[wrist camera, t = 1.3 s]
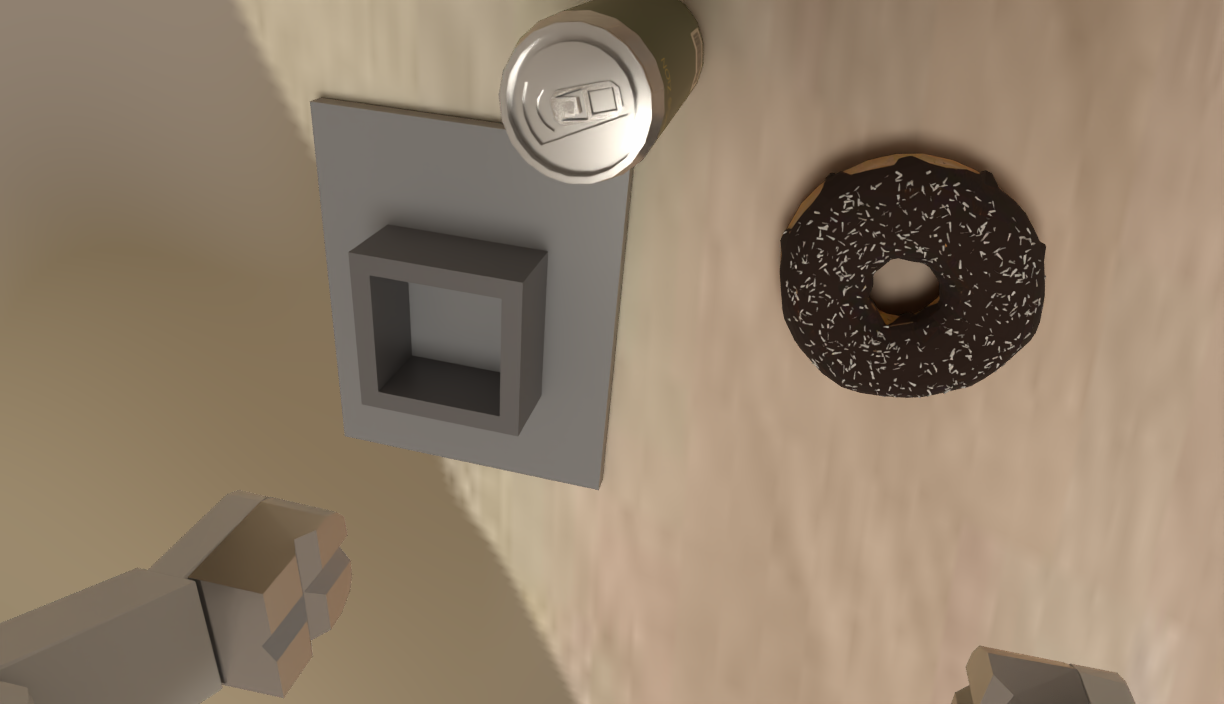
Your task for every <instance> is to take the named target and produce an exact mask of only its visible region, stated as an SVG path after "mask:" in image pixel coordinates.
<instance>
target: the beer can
mask: <svg viewBox="0 0 1224 704" xmlns="http://www.w3.org/2000/svg"><path fill="white" fill-rule="evenodd" d="M702 66H703V39H702V36H701V33H700V30H699V26H698V23H697V21H696V20H695V18H694V17H693V15H692V14H691V12H690V11H689V9H688V8H687V7H686V5H685V4H684V3H682V2H681V1H680V0H593V1H590V2H587V3H584V4H581V5H579V6H576V7H573V8H570V9H567V10H564V11H562V12H559V13H557V14H555V15H552V16H550V17H547V18H545V19H543V20H540V21H538V22H537V23H536V24H535V25H534V26H533V27H532V28H531V29H530V30H529V31H528V32H527V33H525V34H524V35H523V36H522V37H521V38H520V39H519V41H518V43H517V45H516V47H515V49H514V51H513V52H512V54H511V56H510V58H509V60H508V62H507V64H506V66H505V68H504V70H503V74H502V80H501V85H500V91H499V101H500V110H501V118H502V122H503V124H504V127H505V129H506V131H507V134H508V136H509V139H510V141H511V143H512V144H513V146H514V147H515V148H516V150H517V151H518V152H519V153H520V155H521V156H522V157H523V158H524V160H525V161H526V162H527V163H528V164H530V165H531V166H533V167H534V168H535V169H537V170H538V171H540V172H541V173H542V174H544V175H545V176H547V177H550V178H553V179H556V180H559V181H562V182H565V183H568V184H593V183H596V182H602V181H605V180H608V179H611V178H614V177H617V176H620V175H623V174H624V173H626V172H627V171H628V170H630V169H631V168H632V167H634V166H635V165H636V164H638V163H639V162H640V161H642V160H643V159H644V157H645V156H646V155H647V153H648V152H649V150H650V149H651V148H652V146H653V145H654V143H655V142H656V141H657V139H658V138H659V136H660V135H661V134H662V132H663V131H664V129H665V128H666V127H667V125H668V124H669V122H670V121H671V120H672V118H673V117H674V115H675V114H676V113H677V111H678V110H679V108H680V107H681V106H682V104H683V103H684V101H685V100H686V99H687V97H688V96H689V94H690V93H691V91H692V90H693V88H694V87H695V86H696V84H697V82H698V79H699V76H700V73H701V69H702Z"/></svg>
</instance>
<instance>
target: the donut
mask: <svg viewBox="0 0 1224 704" xmlns="http://www.w3.org/2000/svg"><path fill="white" fill-rule="evenodd" d="M780 241H781V264H780V282H781V296H782V310H783V314H784V319H785V321H786V323H787V325H788V328H789V330H790V332H791V334H792V336H793V338H794V340H795V341H796V343H797V344H798V346H799V347H800V349H801V350H802V351H803V352H804V353H805V354H806V356H807V357H808V358H809V359H810V360H811V361H812V362H813V363H812V364H814V365H815V366H816V367H817V368H818V369H819V370H820V371H821V372H822V373H823V374H824V375H825V376H827V377H828V378H830V379H831V380H833V381H834V382H835V383H837V384H838V385H840V386H841V387H844V388H847V389H850V390H853V391H856V392H859V393H865V394H872V395H879V396H884V397H886V396H889V397H896V398H897V397H905V398H910V397H919V398H921V397H924V396H930V395H935V394H939V393H944V394H945V393H947V392H949V391H952V390H957V389H961V388H966V387H969V386H972V385H974V384H975V383H977V382H979V381H981V380H982V379H984V378H986V377H987V376H989V375H990V374H992V373H993V372H996V371H997V369H999V368H1000V367H1001V366H1003V365H1004V364H1005V363H1006V362H1007V361H1008V360H1010V359H1011V358H1012V357H1013V356H1014V355H1015V354H1016V353H1017V352H1018V351H1019V350H1020V349H1022V348H1023V347H1024V346H1025V345H1026V344H1027V343H1028V342H1029V341H1030V340H1031V339H1032V337H1033V336H1034V334H1035V333H1036V330H1037V328H1038V325H1039V323H1040V318H1041V313H1042V309H1043V306H1044V305H1043V302H1044V297H1045V277H1046V276H1045V275H1044V257H1045V250H1046V246H1045V244H1043V243H1041V242H1040V241H1039V239H1038V237H1037V235H1036V232H1035V230H1034V228H1033V226H1032V225H1031V223H1030V221H1029V219H1028V217H1027V215H1026V213H1025V212H1024V211H1023V210H1022V209H1021V208H1020V206H1019V205H1018V204H1017V203H1016V202H1015V201H1014V200H1013V199H1011V198H1010V197H1009V196H1008V195H1006V194H1005V193H1004V192H1003V191H1002V190H1001V188H1000V187H999V186H998V184H997V183H996V181H995V179H994V177H993V175H992V173H990V172H988V171H986V170H985V171H982V172H981V173H979V172H978V171H976V170H974V169H972V168H969V167H967V166H965V165H963V164H960V163H958V162H956V161H954V160H950V159H946V158H941V157H937V156H932V155H928V154H893V155H889V156H884V157H880V158H876V159H871V160H867V161H865V162H863V163H861V164H858V165H856V166H854V167H852V168H850V169H848V170H845V171H843V172H839V173H837V174H835V173H830V174H829V176H828V177H827V178H826V180H825V181H824V182H823V183H822V184H821V185H819V186H818V187H817V188H816V189H815V190H814V191H813V192H812V193H811V194H810V195H809V196H808V197H807V198H806V199H805V200H804V201H803V202H802V203H801V205H800V207H799V208H798V210H797V212H796V214H795V215H794V217H793V219H792V221H791V223H790V224H789V226H788V228H787V229H786V230H785V232H784V233H783V236H782V238H781V240H780ZM896 258H900V259H904V260H908V261H913V262H920V263H924V264H925V265H927V266H928V267H930V268H931V270H932V271H933V273H934V274H935V275H936V277H937V279H938V281H939V296H938V298H937V299H935V300H934V301H933V302H932V303H930V304H929V305H928V306H927V307H925V308H923V309H922V310H921V311H919V312H917V313H915V314H912V313H909V312H908V313H905V314H902V315H900V316H897V315H891V314H886V313H884V312H882V311H880V310H878V309H877V307H876V305H875V303H874V302H873V301H872V300H871V299H870V298H869V296H870V293H871V290H872V287H873V274H874V273H875V272H876V271H877V270H879V269H880V268H881V267H882V266H884V265H885V264H886V263H887V262H889V261H890V260H891V259H896Z"/></svg>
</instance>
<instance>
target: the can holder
mask: <svg viewBox="0 0 1224 704" xmlns="http://www.w3.org/2000/svg"><path fill="white" fill-rule="evenodd" d="M310 106H311V115H312V125H313V135H314V144H315V154H316V163H317V173H318V182H319V192H320V202H321V211H322V221H323V230H324V239H325V249H326V258H327V269H328V279H329V288H330V298H331V307H332V317H333V327H334V336H335V346H336V355H337V365H338V375H339V384H340V394H341V403H342V413H343V422H344V431H345V436H347V437H352V438H356V439H361V440H366V441H370V442H376V443H380V444H385V445H390V446H394V447H399V448H404V449H408V450H413V451H417V452H422V453H427V454H432V455H436V456H441V457H446V458H450V459H455V460H460V461H464V462H469V463H474V464H479V465H483V466H488V467H493V468H497V469H502V470H507V471H511V472H516V473H521V474H525V475H530V476H535V477H540V478H544V479H549V480H554V481H558V482H563V483H568V484H572V485H577V486H582V487H587V488H591V489H596V490H599V488H600V485H601V483H602V480H603V471H604V461H605V450H606V440H607V430H608V420H609V410H610V400H611V390H612V380H613V370H614V360H615V350H616V340H617V329H618V319H619V309H620V299H621V289H622V279H623V269H624V259H625V249H626V239H627V229H628V219H629V208H630V198H631V188H632V178H633V168H634V167H632V168H631V169H630V170H628V171H627V172H626V173H624V174H623V175H620V176H617V177H614V178H611V179H608V180H605V181H602V182H596V183H593V184H568V183H565V182H562V181H559V180H556V179H553V178H550V177H547V176H545V175H544V174H542V173H541V172H540V171H538V170H537V169H535V168H534V167H533V166H531V165H530V164H528V163H527V162H526V161H525V160H524V158H523V157H522V156H521V155H520V153H519V152H518V151H517V150H516V148H515V147H514V146H513V144H512V143H511V141H510V139H509V136H508V134H507V131H506V129H505V127H504V124H503V123H496V122H489V121H482V120H475V119H468V118H461V117H454V116H447V115H440V114H433V113H426V112H419V111H412V110H405V109H398V108H391V107H384V106H377V105H370V104H363V103H356V102H349V101H342V100H335V99H328V98H318V99H315V100H313V101H310Z"/></svg>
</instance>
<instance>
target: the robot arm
mask: <svg viewBox="0 0 1224 704" xmlns="http://www.w3.org/2000/svg"><path fill="white" fill-rule="evenodd" d="M346 537H347V530H346V525H345V518H344V516H342V515H340V514H339V513H337V512H333V511H329V510H325V509H321V508H316V507H312V506H308V505H303V504H299V503H295V502H290V501H287V500H282V499H278V498H273V497H266V496H262V495H258V494H254V493H250V492H245V491H241V490H237V491H234V492H232V493H229V494H227V495H226V496H224V497H223V498H222V499H221V500H220V501H219V502H218V503H217V504H216V505H215V506H214V507H213V508H212V509H211V510H210V511H209V512H208V513H207V514H206V515H204V516H203V517H202V519H200V520H199V521H198V522H197V523H196V524H195V525H194V526H193V527H192V528H191V529H190V530H189V531H188V532H187V533H186V534H185V535H184V536H183V537H181V538H180V539H179V541H177V542H176V544H174V545H173V546H172V547H171V548H170V549H169V550H168V551H167V552H166V553H165V554H164V555H163V556H162V557H161V558H160V559H158V561H156V562H155V563H154V564H153V565H152V566H151V567H150V568H149V569H148V570H146V569H141V568H135V569H133V570H131V571H128V572H125V573H123V574H120V575H118V576H116V577H113V578H111V579H108V580H106V581H103V582H101V583H98V584H96V585H94V586H91V587H88V588H86V589H84V590H81V591H79V592H76V593H74V594H71V595H69V596H66V597H64V598H61V599H59V600H57V601H54V602H52V603H49V604H47V605H44V606H42V607H39V608H37V609H34V610H32V611H29V612H27V613H24V614H22V615H19V616H17V617H14V618H12V619H10V620H7V621H5V622H2V623H0V704H200V703H201V702H203V701H204V700H206V699H207V698H209V697H210V696H212V695H214V694H215V693H217V692H218V691H220V690H221V689H222V685H226V686H231V687H235V688H240V689H244V690H249V691H254V692H258V693H263V694H267V695H272V696H277V697H281V698H284V697H285V695H286V694H287V693H288V691H289V690H290V689H291V687H292V686H293V684H294V683H295V681H296V680H297V678H298V677H299V675H300V674H301V673H302V671H303V669H304V668H305V667H306V665H307V664H308V662H309V661H310V659H311V658H312V657H313V656H312V655H313V654H312V645H311V640H312V639H315V638H316V637H318V636H320V635H322V634H324V633H326V632H327V631H329V630H331V629H332V627H333V626H334V624H335V623H336V621H337V620H338V618H339V617H340V615H341V614H342V612H343V609H344V606H345V604H346V601H347V598H348V595H349V593H350V588H351V580H352V569H351V561H350V559H349V558H348V557H347V556H346V554H345V553H344V552H343V551H342V549H341V548H340V547H339V546H340V545H341V544H342V542H343V541H344V540H345V538H346ZM966 671H967V676H968V681H969V686H967V687H965V688H963V689H961V690H959V691H957V692H955V694H954V697H953V700H952V703H951V704H1135V701H1134V699H1133V697H1132V695H1131V692H1130V690H1129V688H1128V685H1127V683H1126V681H1125V680H1124V679H1123V678H1122V677H1121V676H1120V675H1119V674H1118V673H1115V672H1110V671H1105V670H1100V669H1095V668H1090V667H1085V666H1080V665H1075V664H1066V663H1064V662H1059V661H1054V660H1049V659H1044V658H1039V657H1034V656H1029V655H1024V654H1019V653H1014V652H1009V651H1004V650H999V649H994V648H989V647H984V646H978V647H977V648H976V649H975V650H974V651H973V652H972V654H971V656H970V659H969V661H968V663H967V665H966Z"/></svg>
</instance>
